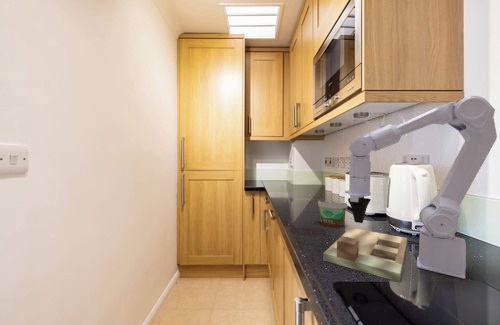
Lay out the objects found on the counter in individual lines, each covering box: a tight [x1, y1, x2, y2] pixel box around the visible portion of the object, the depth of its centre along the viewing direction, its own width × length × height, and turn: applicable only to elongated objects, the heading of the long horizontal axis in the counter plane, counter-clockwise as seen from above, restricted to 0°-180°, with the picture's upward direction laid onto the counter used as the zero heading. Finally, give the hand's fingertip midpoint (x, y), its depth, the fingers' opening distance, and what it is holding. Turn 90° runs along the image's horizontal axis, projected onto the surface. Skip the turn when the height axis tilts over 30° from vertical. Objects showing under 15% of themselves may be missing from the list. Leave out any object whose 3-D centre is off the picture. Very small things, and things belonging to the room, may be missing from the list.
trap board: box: [322, 227, 408, 283], centre depth 71 cm, size 18×30×2 cm, turn 143°
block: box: [336, 235, 359, 262], centre depth 63 cm, size 4×4×4 cm
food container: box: [317, 199, 349, 228], centre depth 98 cm, size 12×6×10 cm, turn 62°
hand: (358, 222), depth 70 cm, fingers closed
